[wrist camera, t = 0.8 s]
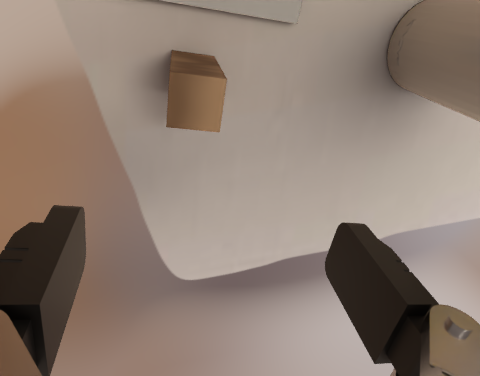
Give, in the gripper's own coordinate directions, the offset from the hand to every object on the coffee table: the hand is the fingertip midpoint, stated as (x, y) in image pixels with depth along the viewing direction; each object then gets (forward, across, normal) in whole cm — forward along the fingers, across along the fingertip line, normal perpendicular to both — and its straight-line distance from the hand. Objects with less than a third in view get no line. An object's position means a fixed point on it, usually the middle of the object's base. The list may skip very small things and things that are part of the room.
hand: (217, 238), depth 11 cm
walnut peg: (+26, 0, 0) cm, 26 cm away
